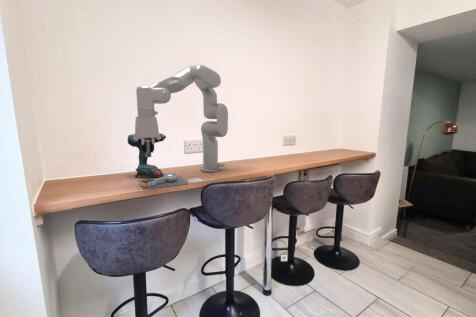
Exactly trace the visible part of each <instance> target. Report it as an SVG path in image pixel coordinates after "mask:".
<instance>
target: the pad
mask: <svg viewBox="0 0 476 317" xmlns="http://www.w3.org/2000/svg"><path fill="white" fill-rule="evenodd" d="M186 182H189V183H190V184H197V183H204V180H203V179H201V178H199V177H198V178H189V179H186Z"/></svg>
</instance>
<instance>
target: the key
mask: <svg viewBox="0 0 476 317" xmlns="http://www.w3.org/2000/svg"><path fill="white" fill-rule="evenodd" d="M144 141H145V146H146V153H145V157H148V158H152V152H151V140H144Z"/></svg>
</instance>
